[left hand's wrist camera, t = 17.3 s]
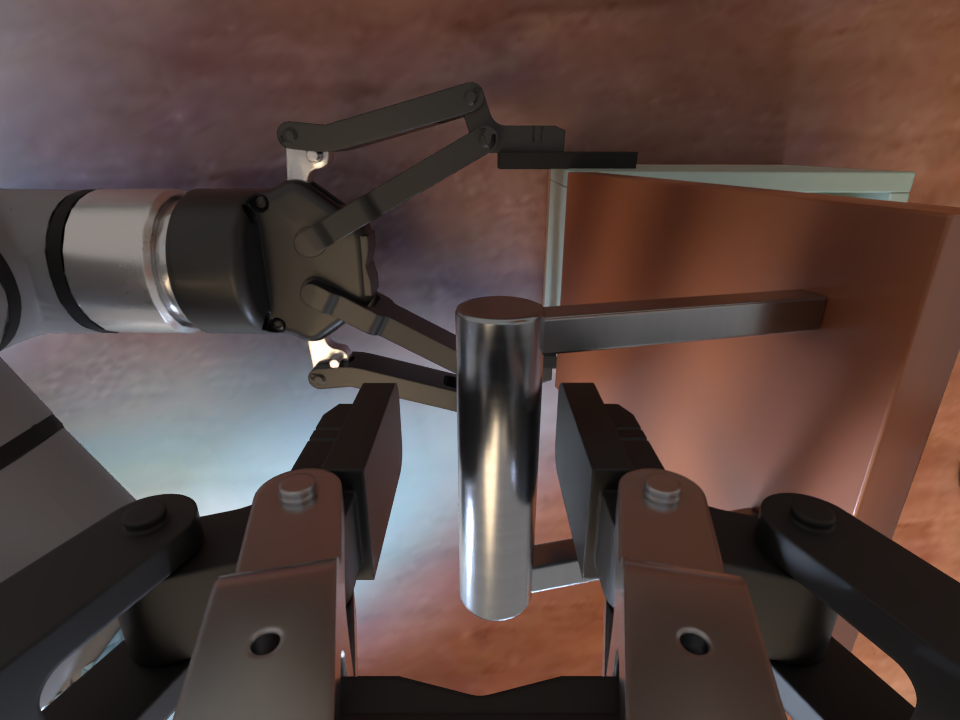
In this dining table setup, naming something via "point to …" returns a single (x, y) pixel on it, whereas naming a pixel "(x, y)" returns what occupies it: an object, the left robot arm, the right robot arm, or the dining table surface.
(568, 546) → the lid
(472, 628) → the dining table surface
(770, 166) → the chest
